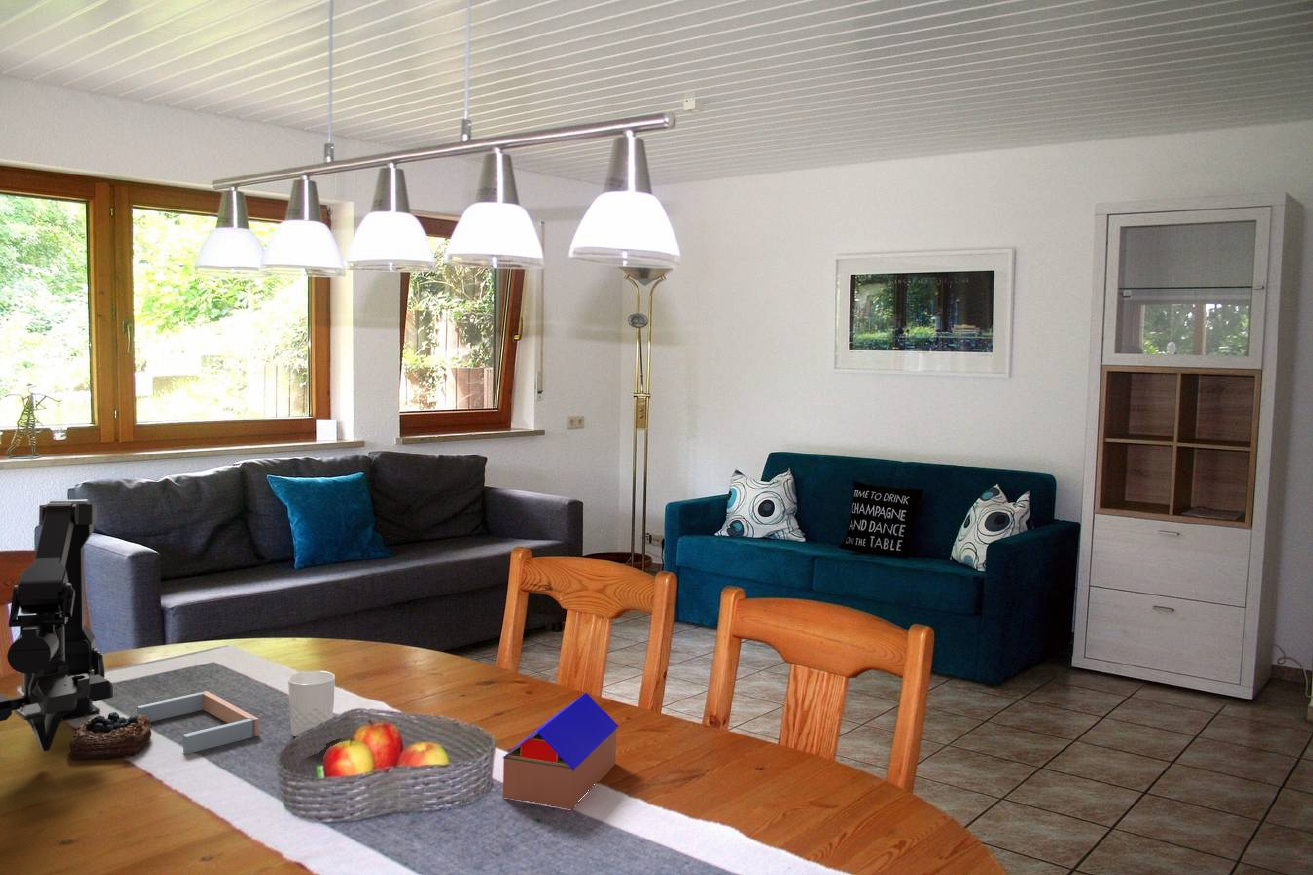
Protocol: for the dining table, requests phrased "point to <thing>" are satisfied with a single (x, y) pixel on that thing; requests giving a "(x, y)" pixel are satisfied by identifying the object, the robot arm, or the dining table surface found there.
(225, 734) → the corral
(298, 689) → the white cup
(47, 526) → the robot arm
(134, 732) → the pastry
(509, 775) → the house
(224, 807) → the dining table surface
